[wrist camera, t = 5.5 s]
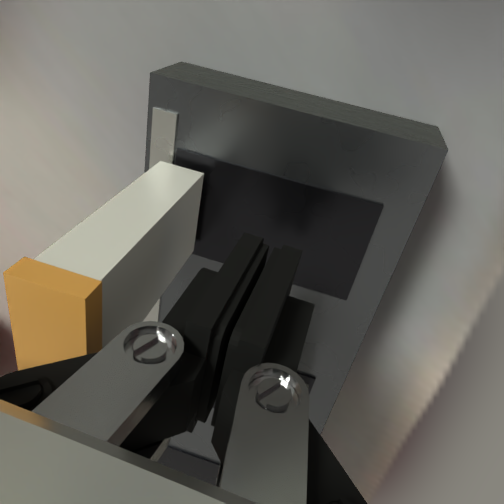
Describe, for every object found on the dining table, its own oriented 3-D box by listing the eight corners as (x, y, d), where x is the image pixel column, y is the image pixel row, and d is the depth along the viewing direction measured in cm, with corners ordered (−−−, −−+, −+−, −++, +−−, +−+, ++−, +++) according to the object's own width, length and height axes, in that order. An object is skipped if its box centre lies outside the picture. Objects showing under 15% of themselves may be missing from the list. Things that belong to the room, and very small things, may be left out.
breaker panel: (278, 502, 27) (239, 704, 20) (145, 454, 28) (56, 628, 21) (438, 126, 14) (508, 285, 7) (181, 61, 15) (-21, 133, 8)
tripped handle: (195, 253, 16) (87, 408, 10) (151, 240, 16) (19, 384, 10) (207, 171, 14) (84, 299, 8) (157, 157, 14) (2, 272, 8)
